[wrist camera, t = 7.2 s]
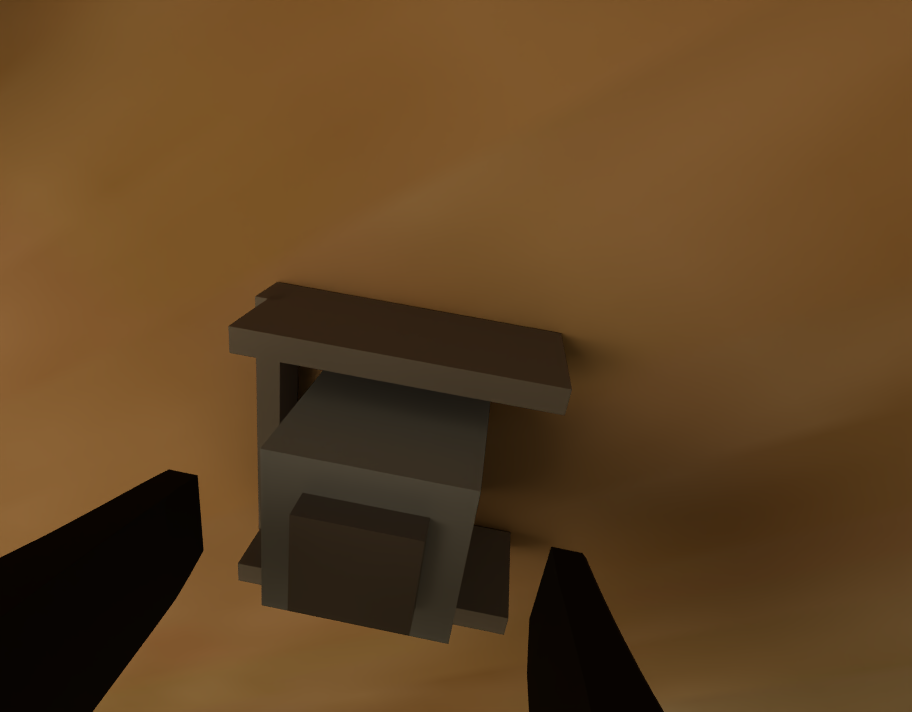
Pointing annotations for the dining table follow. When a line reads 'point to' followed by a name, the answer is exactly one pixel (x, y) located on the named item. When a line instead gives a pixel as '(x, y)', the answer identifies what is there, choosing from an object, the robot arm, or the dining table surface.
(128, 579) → the robot arm
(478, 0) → the dining table surface
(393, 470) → the block
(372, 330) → the end holder
